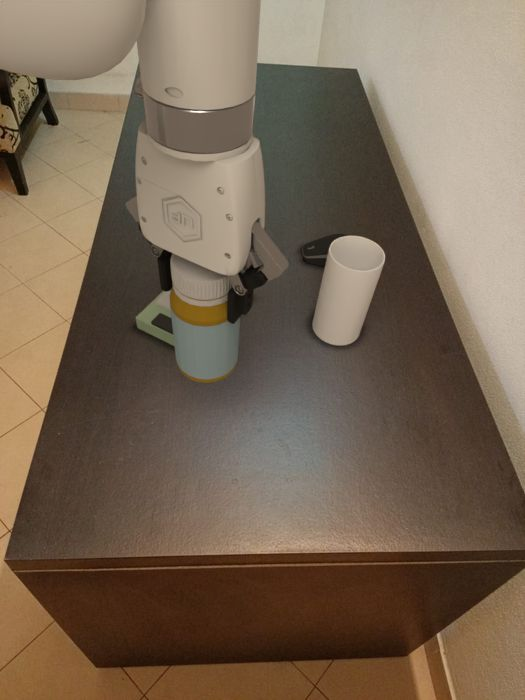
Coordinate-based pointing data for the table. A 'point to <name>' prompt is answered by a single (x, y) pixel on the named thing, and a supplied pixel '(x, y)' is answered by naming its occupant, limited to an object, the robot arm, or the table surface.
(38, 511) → the table surface
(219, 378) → the bottle
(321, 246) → the computer mouse
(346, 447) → the table surface
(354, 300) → the cup
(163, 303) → the scale
